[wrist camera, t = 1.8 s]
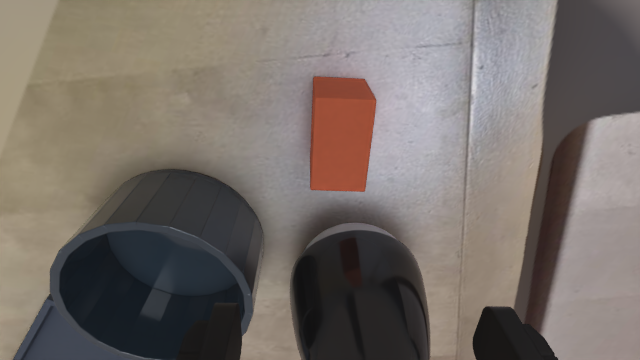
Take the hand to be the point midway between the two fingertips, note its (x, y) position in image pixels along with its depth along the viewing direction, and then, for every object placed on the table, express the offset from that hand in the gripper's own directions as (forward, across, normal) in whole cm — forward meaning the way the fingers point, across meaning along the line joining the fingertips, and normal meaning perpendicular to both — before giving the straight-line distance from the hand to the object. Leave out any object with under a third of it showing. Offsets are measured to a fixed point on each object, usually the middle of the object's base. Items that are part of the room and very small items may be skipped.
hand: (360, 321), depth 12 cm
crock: (+17, +12, +10) cm, 23 cm away
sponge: (+17, 0, -1) cm, 17 cm away
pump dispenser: (+17, -2, +11) cm, 20 cm away
